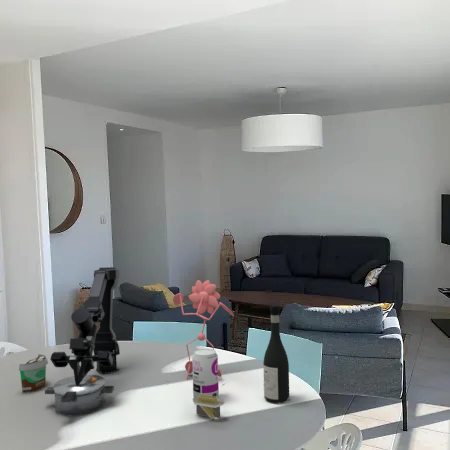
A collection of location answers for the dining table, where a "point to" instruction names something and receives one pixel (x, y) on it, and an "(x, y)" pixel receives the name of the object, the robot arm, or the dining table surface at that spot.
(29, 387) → the food container
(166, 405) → the dining table surface
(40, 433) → the dining table surface
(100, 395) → the cooker pot
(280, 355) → the wine bottle
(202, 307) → the figurine
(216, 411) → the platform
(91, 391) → the cooker lid
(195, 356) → the supplement can
